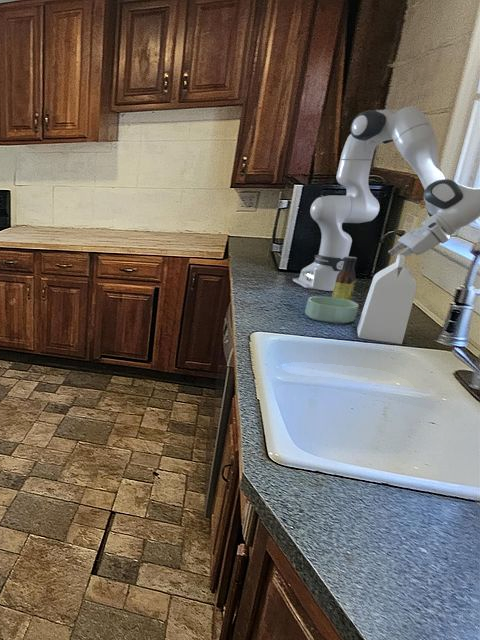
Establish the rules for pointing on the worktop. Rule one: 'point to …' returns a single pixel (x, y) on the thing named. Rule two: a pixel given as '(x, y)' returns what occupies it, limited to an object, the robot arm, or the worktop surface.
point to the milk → (388, 304)
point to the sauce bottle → (345, 279)
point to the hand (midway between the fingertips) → (392, 256)
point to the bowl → (331, 309)
